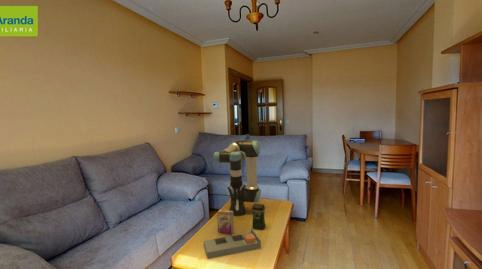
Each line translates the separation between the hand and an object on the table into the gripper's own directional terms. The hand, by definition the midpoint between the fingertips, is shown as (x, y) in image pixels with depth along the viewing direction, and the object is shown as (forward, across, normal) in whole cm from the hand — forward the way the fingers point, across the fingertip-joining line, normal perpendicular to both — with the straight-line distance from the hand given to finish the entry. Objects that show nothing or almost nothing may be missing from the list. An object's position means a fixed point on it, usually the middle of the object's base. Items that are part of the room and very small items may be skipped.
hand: (237, 209), depth 162 cm
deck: (+24, -6, -2) cm, 25 cm away
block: (+22, +7, -5) cm, 23 cm away
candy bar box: (+25, -5, +17) cm, 31 cm away
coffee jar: (+25, +21, +16) cm, 37 cm away
